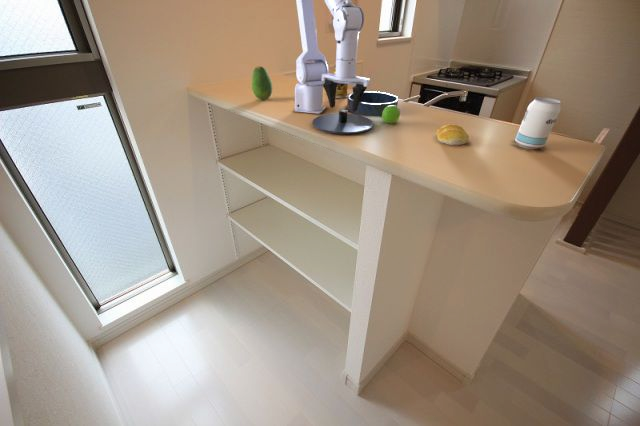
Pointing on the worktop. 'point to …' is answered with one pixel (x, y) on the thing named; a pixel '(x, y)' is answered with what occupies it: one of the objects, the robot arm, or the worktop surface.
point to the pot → (372, 103)
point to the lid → (342, 123)
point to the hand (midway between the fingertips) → (343, 108)
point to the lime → (391, 114)
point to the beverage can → (538, 123)
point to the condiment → (341, 88)
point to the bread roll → (452, 135)
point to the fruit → (261, 83)
